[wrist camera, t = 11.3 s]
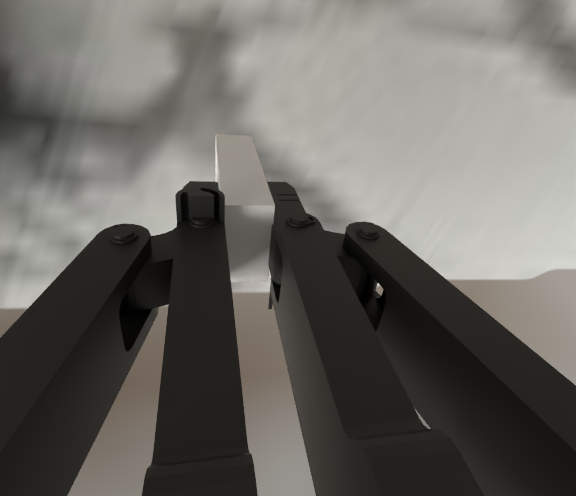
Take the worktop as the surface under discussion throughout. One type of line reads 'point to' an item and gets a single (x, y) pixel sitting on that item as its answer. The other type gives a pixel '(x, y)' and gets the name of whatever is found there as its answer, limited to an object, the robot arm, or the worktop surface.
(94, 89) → the worktop surface
